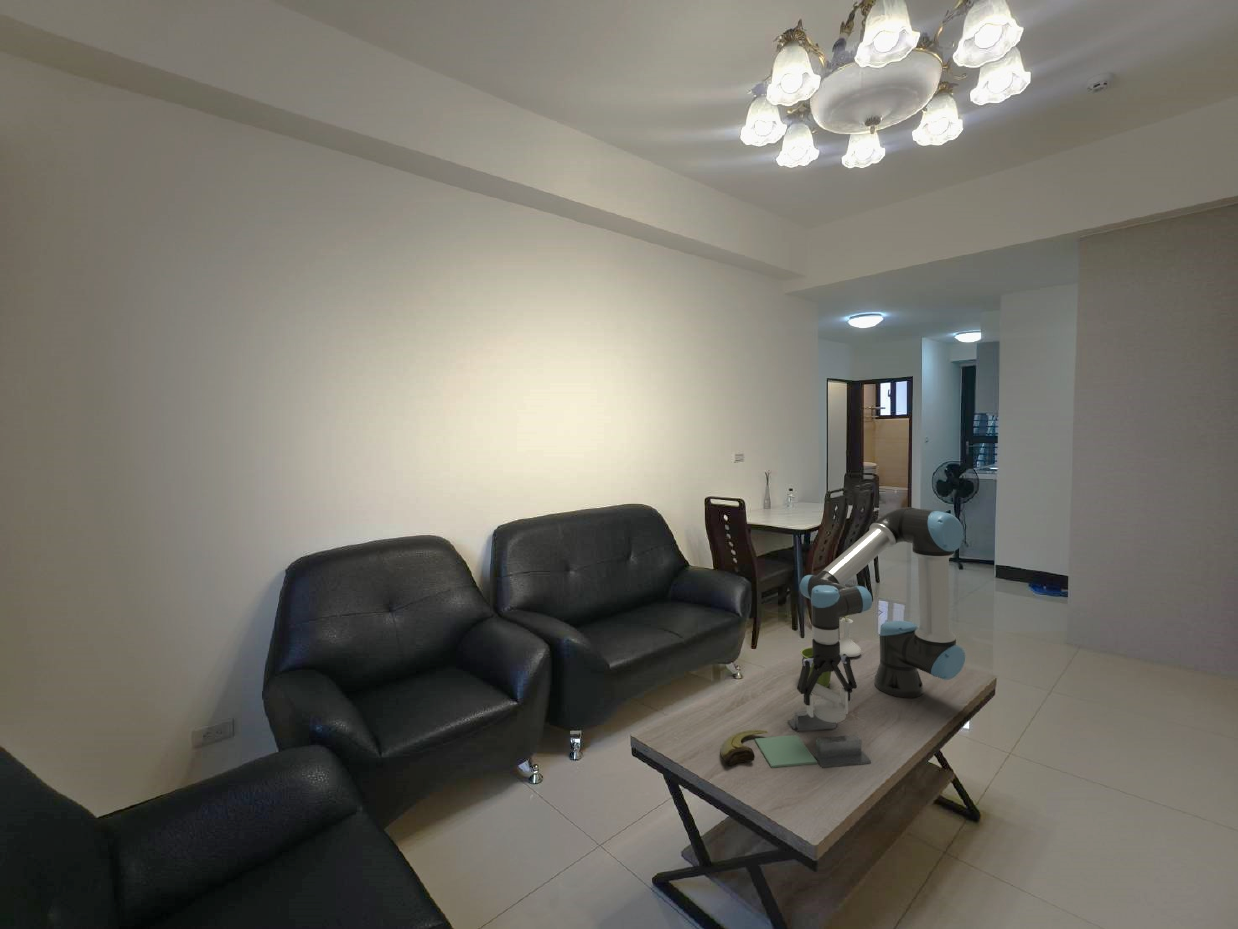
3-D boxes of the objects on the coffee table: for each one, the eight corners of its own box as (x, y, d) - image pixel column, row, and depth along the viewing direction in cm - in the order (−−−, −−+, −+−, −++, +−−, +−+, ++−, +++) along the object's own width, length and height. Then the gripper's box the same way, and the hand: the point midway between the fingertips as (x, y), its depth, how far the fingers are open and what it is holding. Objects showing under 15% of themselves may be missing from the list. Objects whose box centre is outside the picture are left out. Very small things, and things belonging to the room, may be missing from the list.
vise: (830, 718, 171) (830, 703, 170) (870, 763, 148) (870, 745, 148) (787, 722, 169) (787, 707, 169) (822, 767, 147) (822, 750, 146)
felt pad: (796, 736, 161) (796, 735, 161) (816, 763, 148) (816, 761, 148) (754, 740, 160) (754, 738, 160) (771, 767, 147) (771, 765, 147)
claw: (750, 773, 145) (749, 761, 144) (713, 765, 149) (712, 753, 149) (766, 735, 162) (765, 724, 162) (733, 729, 167) (732, 718, 167)
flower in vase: (842, 645, 226) (842, 587, 224) (867, 655, 216) (867, 594, 215) (822, 653, 219) (822, 593, 217) (847, 663, 209) (847, 600, 208)
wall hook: (806, 675, 163) (841, 676, 161) (807, 705, 163) (842, 707, 161) (810, 689, 154) (848, 691, 152) (811, 721, 155) (848, 723, 153)
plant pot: (830, 676, 199) (829, 646, 198) (840, 692, 187) (840, 660, 187) (797, 676, 200) (797, 646, 199) (805, 691, 188) (805, 660, 188)
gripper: (855, 631, 161) (856, 702, 163) (783, 637, 159) (785, 710, 161) (869, 641, 154) (870, 716, 156) (794, 648, 152) (796, 724, 153)
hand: (827, 713), depth 158 cm, fingers closed on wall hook, 10 cm apart
